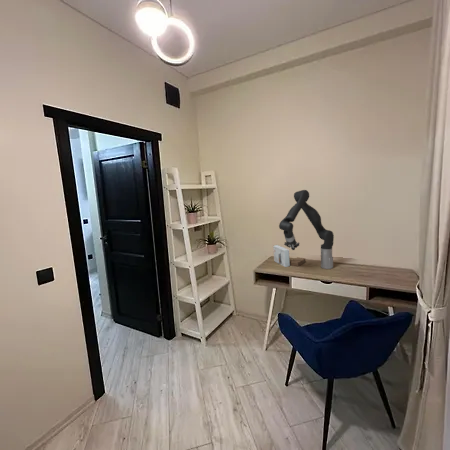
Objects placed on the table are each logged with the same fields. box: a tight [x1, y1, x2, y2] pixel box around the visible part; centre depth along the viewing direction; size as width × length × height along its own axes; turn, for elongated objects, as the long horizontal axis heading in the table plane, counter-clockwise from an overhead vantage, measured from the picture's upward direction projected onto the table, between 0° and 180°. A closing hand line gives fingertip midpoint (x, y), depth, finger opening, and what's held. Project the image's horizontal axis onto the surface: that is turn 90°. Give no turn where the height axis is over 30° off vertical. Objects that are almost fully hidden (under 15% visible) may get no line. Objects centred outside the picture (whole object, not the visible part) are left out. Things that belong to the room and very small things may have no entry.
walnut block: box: [289, 257, 306, 268], centre depth 239 cm, size 4×8×16 cm
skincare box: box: [272, 244, 291, 268], centre depth 241 cm, size 21×6×16 cm, turn 17°
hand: (293, 249), depth 221 cm, fingers closed
